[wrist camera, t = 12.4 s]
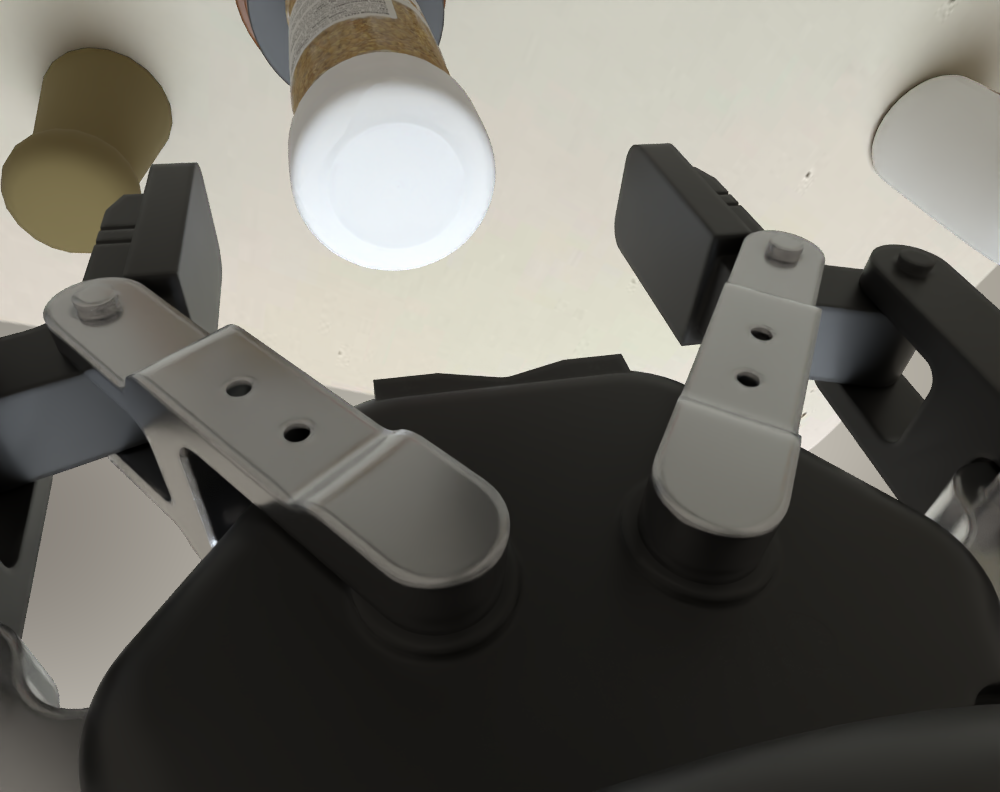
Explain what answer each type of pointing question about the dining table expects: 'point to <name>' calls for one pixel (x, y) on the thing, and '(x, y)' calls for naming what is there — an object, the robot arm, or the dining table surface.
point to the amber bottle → (270, 29)
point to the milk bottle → (947, 157)
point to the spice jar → (382, 135)
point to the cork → (85, 147)
